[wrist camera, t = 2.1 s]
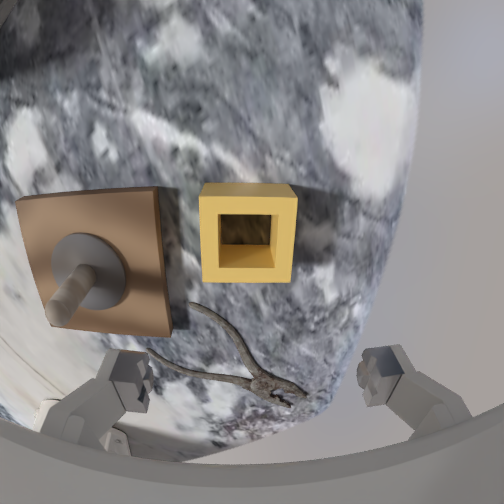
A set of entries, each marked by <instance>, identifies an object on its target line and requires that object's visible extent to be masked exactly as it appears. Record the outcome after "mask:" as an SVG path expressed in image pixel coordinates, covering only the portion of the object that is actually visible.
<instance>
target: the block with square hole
mask: <svg viewBox="0 0 504 504" xmlns="http://www.w3.org/2000/svg"><path fill="white" fill-rule="evenodd" d="M297 203H298V197H297V196H296V194H295V193H294V192H293V190H292V189H291V187H290V186H289V184H273V183H205V184H204V187H203V189H202V191H201V193H200V195H199V213H200V239H201V260H202V278H203V282H234V283H268V282H290V279H291V269H292V259H293V249H294V238H295V227H296V215H297ZM221 214H264V215H271V228H270V245H221Z"/></svg>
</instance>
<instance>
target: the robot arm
mask: <svg viewBox="0 0 504 504" xmlns="http://www.w3.org/2000/svg"><path fill="white" fill-rule="evenodd" d="M362 358H363V361H361V362H360V363H359V365H358V368H357V381H358V384H359V386H360V387H361V388H363V389H364V392H363V397H364V400H365V403H366V405H367V407H371V406H378V405H384V404H386V405H387V406H388V407H389V408H390V409H391V410H392V411H393V412H394V413H395V414H397V415H398V416H399V417H400V418H401V419H402V420H403V421H405V422H406V423H407V424H408V425H409V426H410V427H411V428H413V429H414V430H415V432H414V433H413V434H412V435H411V437H410V438H409V439H408V441H405V442H401V443H397V444H394V445H390V446H386V447H382V448H377V449H373V450H368V451H364V452H359V453H354V454H348V455H343V456H337V457H331V458H324V459H316V460H308V461H299V462H289V463H274V464H250V465H219V464H195V463H182V462H171V461H162V460H154V459H147V458H140V457H134V456H131V453H130V449H129V444H128V440H127V436H126V434H125V433H123V432H121V431H119V430H117V429H115V428H113V427H112V426H113V425H114V424H115V423H116V422H117V421H118V420H119V419H120V418H121V417H122V416H123V415H124V414H125V413H126V411H129V412H138V413H147V410H148V405H149V401H150V399H149V396H148V394H149V393H150V392H151V391H152V388H153V379H154V377H153V370H152V367H151V366H149V365H148V363H149V360H150V359H149V356H148V353H146V352H138V351H129V350H119V349H112V348H110V349H109V350H108V351H107V352H106V355H105V357H104V359H103V362H102V364H101V366H100V369H99V371H98V373H97V376H96V378H95V379H94V378H92V379H90V380H89V381H87V382H86V383H85V384H83V385H82V386H80V387H79V388H77V389H76V390H75V391H73V392H72V393H70V394H69V395H68V396H66V397H65V398H63V399H62V400H60V401H57V400H44V401H42V402H41V404H40V408H39V409H37V410H35V412H34V417H35V418H36V419H35V423H34V426H33V429H32V430H30V429H28V428H25V427H22V426H20V425H17V424H15V423H12V422H10V421H8V420H5V419H3V418H1V417H0V504H504V403H503V404H501V405H499V406H497V407H495V408H493V409H491V410H488V411H486V412H484V413H482V414H480V415H477V416H475V417H472V415H471V414H470V412H469V410H468V408H467V407H466V405H465V403H464V401H463V400H462V398H461V396H459V395H458V394H456V393H454V392H453V391H451V390H449V389H448V388H446V387H444V386H443V385H441V384H439V383H438V382H436V381H434V380H433V379H431V378H430V377H428V376H426V375H425V374H423V373H421V372H420V371H417V372H416V370H415V368H414V367H413V365H412V363H411V362H410V360H409V358H408V356H407V355H406V353H405V351H404V350H403V348H402V346H401V345H398V344H397V345H391V346H383V347H376V348H368V349H365V350H364V351H363V354H362Z"/></svg>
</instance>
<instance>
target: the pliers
mask: <svg viewBox="0 0 504 504" xmlns="http://www.w3.org/2000/svg"><path fill="white" fill-rule="evenodd" d="M189 306H190V307H191V308H193V309H195V310H197V311H199V312H201V313H203V314H205V315H206V316H208V317H210V318H211V319H213V320H214V321H215V322H217V323H218V324H219V325H220V326H222V327H223V328H224V329H225V330H226V331H227V332H228V334H229V335H230V336H231V337H232V339H233V341H234V343H235V345H236V347H237V349H238V351H239V353H240V355H241V358H242V360H243V362H244V364H245V366H246V367H247V369H248V370H249V372H250V373H251V374H252V375H253V377H254V378H253V379H247V378H243V377H238V376H232V375H225V374H215V373H206V372H199V371H194V370H189V369H186V368H182V367H180V366H177V365H175V364H173V363H171V362H169V361H167V360H165V359H164V358H162V357H161V356H159V355H158V354H157V353H155V352H154V351H153V350H151V349H150V348H146V351H147V352H148V353H149V354H150V355H151V356H152V357H154V358H155V359H156V360H158V361H159V362H161V363H162V364H164V365H166V366H167V367H169V368H171V369H173V370H176V371H178V372H180V373H183V374H186V375H189V376H193V377H198V378H204V379H210V380H217V381H223V382H229V383H234V384H237V385H240V386H242V387H243V388H244V389H246V390H249V391H251V392H253V393H254V394H256V395H257V396H259V397H261V398H263V399H265V400H266V401H269V402H272V403H275V404H278V405H281V406H284V407H287V408H291V405H290V404H289V403H288V402H286V401H285V400H282V399H280V398H279V396H278V395H277V394H276V395H271V390H272V389H274V390H276V389H279V388H283V389H284V392H285V393H293V394H295V395H296V396H299V397H302V398H307V397H306V394H305V393H304V392H303V391H302V390H300V389H299V388H298V387H297V386H296V385H295V384H294V383H292V382H289V381H286V380H283V379H280V378H277V377H275V376H271V375H270V374H268V373H267V372H265V371H264V370H262V369H261V368H260V367H259V366H258V365H257V364H256V363H255V361H254V360H253V358H252V357H251V355H250V353H249V351H248V349H247V347H246V345H245V344H244V342H243V340H242V338H241V337H240V335H239V334H238V332H237V331H236V330H235V329H234V328H233V327H232V326H231V325H230V324H229V323H228V322H227V321H225V320H224V319H223V318H221V317H220V316H219V315H217V314H216V313H214V312H213V311H211V310H209V309H207V308H205V307H203V306H201V305H199V304H197V303H194V302H190V303H189Z"/></svg>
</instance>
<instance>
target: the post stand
mask: <svg viewBox="0 0 504 504" xmlns="http://www.w3.org/2000/svg"><path fill="white" fill-rule="evenodd" d="M15 203H16V209H17V214H18V219H19V224H20V228H21V233H22V237H23V241H24V245H25V249H26V253H27V256H28V260H29V263H30V267H31V270H32V274H33V277H34V280H35V283H36V286H37V289H38V292H39V295H40V298H41V301H42V304H43V306H44V309H45V315H46V318H47V320H48V321H49V322H50V325H51V326H52V327H59V328H66V329H74V330H83V331H92V332H102V333H112V334H124V335H137V336H152V337H170V338H171V334H172V330H173V323H172V317H171V310H170V304H169V296H168V289H167V281H166V273H165V265H164V256H163V247H162V237H161V226H160V214H159V200H158V186H153V187H130V188H112V189H97V190H84V191H71V192H60V193H50V194H41V195H32V196H24V197H22V198H20V199H18V200H17V201H15Z"/></svg>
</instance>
